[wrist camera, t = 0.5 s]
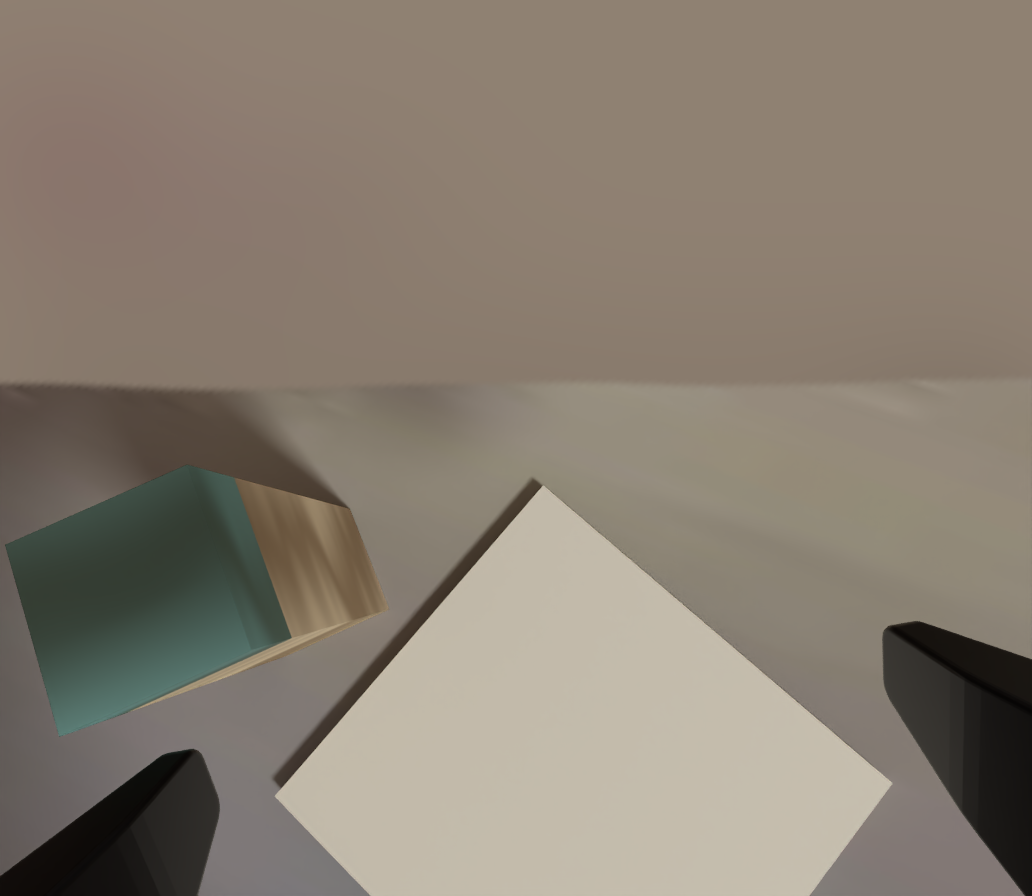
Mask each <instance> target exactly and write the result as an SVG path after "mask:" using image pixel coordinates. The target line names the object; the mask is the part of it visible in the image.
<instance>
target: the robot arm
mask: <svg viewBox="0 0 1032 896" xmlns="http://www.w3.org/2000/svg"><path fill="white" fill-rule="evenodd" d="M882 644H883V680H884V686H885V690H886V693H887V695H888V697H889V699H890V701H891V703H892V704H893V706H894V708H895V709H896V711H897V712H898V714H899V716H900V717H901V719H902V720H903V722H904V723H905V725H906V727H907V728H908V730H909V731H910V733H911V735H912V736H913V738H914V739H915V741H916V742H917V744H918V746H919V747H920V749H921V750H922V752H923V754H924V755H925V757H926V758H927V760H928V761H929V763H930V765H931V766H932V768H933V769H934V771H935V773H936V774H937V776H938V777H939V779H940V780H941V782H942V784H943V785H944V787H945V788H946V790H947V791H948V793H949V795H950V796H951V798H952V799H953V801H954V802H955V804H956V805H957V807H958V808H959V810H960V811H961V813H962V814H963V815H964V817H965V818H966V819H967V821H968V822H969V823H970V825H971V826H972V827H973V829H974V830H975V832H976V833H977V834H978V836H979V837H980V838H981V839H982V841H983V842H984V843H985V845H986V846H987V847H988V848H989V850H990V851H991V852H992V854H993V855H994V856H995V858H996V859H997V860H998V861H999V863H1000V864H1001V865H1002V867H1003V868H1004V869H1005V871H1006V872H1007V873H1008V874H1009V876H1010V877H1011V878H1012V880H1013V881H1014V882H1015V884H1016V885H1017V886H1018V887H1019V889H1020V890H1021V891H1022V893H1023V894H1024V895H1025V896H1032V659H1029V658H1026V657H1023V656H1020V655H1017V654H1014V653H1011V652H1008V651H1006V650H1003V649H1000V648H997V647H994V646H991V645H988V644H985V643H982V642H979V641H976V640H973V639H970V638H967V637H964V636H962V635H959V634H956V633H953V632H950V631H947V630H944V629H941V628H938V627H935V626H932V625H929V624H926V623H923V622H920V621H913V622H907V623H901V624H896V625H890V626H888V627H887V628H886V629H885V630H884V632H883V638H882ZM219 812H220V803H219V798H218V794H217V792H216V789H215V786H214V784H213V781H212V779H211V776H210V773H209V771H208V768H207V766H206V763H205V760H204V758H203V756H202V754H201V753H200V752H199V751H197V750H195V749H188V750H182V751H177V752H171V753H167V754H164V755H162V756H160V757H159V758H158V759H156V760H155V761H154V762H152V763H151V764H150V765H148V766H147V767H146V768H144V769H143V770H142V771H140V772H139V773H138V774H136V775H135V776H134V777H132V778H131V779H130V780H128V781H127V782H126V783H124V784H123V785H122V786H120V787H119V788H118V789H116V790H115V791H114V792H112V793H111V794H109V795H108V796H107V797H105V798H104V799H103V800H101V801H100V802H99V803H97V804H96V805H95V806H93V807H92V808H91V809H89V810H88V811H87V812H85V813H84V814H83V815H81V816H80V817H79V818H77V819H76V820H75V821H73V822H72V823H71V824H69V825H68V826H67V827H65V828H64V829H63V830H61V831H60V832H59V833H57V834H56V835H55V836H53V837H52V838H51V839H49V840H48V841H47V842H45V843H44V844H43V845H41V846H40V847H39V848H37V849H36V850H35V851H33V852H32V853H31V854H29V855H28V856H27V857H25V858H24V859H23V860H21V861H20V862H19V863H17V864H16V865H15V866H13V867H12V868H11V869H9V870H8V871H7V872H5V873H4V874H3V875H1V876H0V896H198V893H199V889H200V885H201V882H202V878H203V874H204V871H205V867H206V863H207V860H208V856H209V852H210V849H211V845H212V841H213V838H214V834H215V830H216V827H217V823H218V819H219Z"/></svg>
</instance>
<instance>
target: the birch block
mask: <svg viewBox="0 0 1032 896" xmlns="http://www.w3.org/2000/svg"><path fill="white" fill-rule="evenodd" d="M5 546H6V550H7V554H8V557H9V561H10V564H11V568H12V571H13V575H14V578H15V582H16V585H17V589H18V592H19V596H20V599H21V603H22V607H23V610H24V614H25V617H26V621H27V624H28V628H29V631H30V635H31V638H32V642H33V645H34V649H35V652H36V656H37V660H38V663H39V667H40V670H41V674H42V677H43V681H44V684H45V688H46V691H47V695H48V698H49V702H50V706H51V709H52V713H53V716H54V720H55V723H56V727H57V730H58V734H59V737H60V736H63V735H66V734H69V733H71V732H74V731H77V730H80V729H83V728H85V727H88V726H91V725H94V724H97V723H100V722H102V721H105V720H108V719H111V718H114V717H116V716H119V715H122V714H125V713H128V712H130V711H133V710H136V709H139V708H142V707H144V706H147V705H150V704H153V703H156V702H158V701H161V700H164V699H167V698H170V697H172V696H175V695H178V694H181V693H184V692H186V691H189V690H192V689H195V688H198V687H200V686H203V685H206V684H209V683H212V682H214V681H217V680H220V679H223V678H226V677H228V676H231V675H234V674H237V673H240V672H242V671H245V670H248V669H251V668H254V667H256V666H259V665H262V664H265V663H268V662H270V661H273V660H276V659H279V658H282V657H284V656H287V655H290V654H292V653H294V652H296V651H298V650H301V649H303V648H305V647H307V646H309V645H312V644H314V643H316V642H318V641H321V640H323V639H325V638H327V637H329V636H332V635H334V634H336V633H338V632H340V631H343V630H345V629H347V628H349V627H351V626H354V625H356V624H358V623H360V622H363V621H365V620H367V619H369V618H371V617H374V616H376V615H378V614H380V613H382V612H385V611H387V610H389V607H388V605H387V602H386V600H385V597H384V595H383V592H382V589H381V587H380V584H379V582H378V579H377V577H376V574H375V572H374V569H373V567H372V564H371V561H370V559H369V556H368V554H367V551H366V549H365V546H364V544H363V541H362V539H361V536H360V534H359V531H358V528H357V526H356V523H355V521H354V518H353V516H352V513H351V511H350V509H348V508H344V507H341V506H337V505H333V504H330V503H326V502H322V501H319V500H315V499H311V498H308V497H304V496H300V495H297V494H293V493H289V492H286V491H282V490H278V489H275V488H271V487H267V486H264V485H260V484H256V483H253V482H249V481H245V480H242V479H238V478H234V477H231V476H227V475H223V474H220V473H216V472H212V471H208V470H205V469H201V468H197V467H194V466H190V465H185V466H183V467H181V468H178V469H176V470H174V471H172V472H169V473H167V474H165V475H163V476H160V477H158V478H156V479H153V480H151V481H149V482H147V483H144V484H142V485H140V486H138V487H135V488H133V489H131V490H129V491H126V492H124V493H122V494H119V495H117V496H115V497H113V498H110V499H108V500H106V501H104V502H101V503H99V504H97V505H94V506H92V507H90V508H88V509H85V510H83V511H81V512H79V513H76V514H74V515H72V516H70V517H67V518H65V519H63V520H60V521H58V522H56V523H54V524H51V525H49V526H47V527H45V528H42V529H40V530H38V531H35V532H33V533H31V534H29V535H26V536H24V537H22V538H20V539H17V540H15V541H13V542H11V543H8V544H6V545H5Z"/></svg>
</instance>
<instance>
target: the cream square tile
mask: <svg viewBox="0 0 1032 896" xmlns="http://www.w3.org/2000/svg"><path fill="white" fill-rule="evenodd" d="M891 785H892V783H891V782H890V781H889V780H888V779H887V778H886V777H884V776H883V775H882V774H881V773H880V772H879V771H877V770H876V769H875V768H874V767H873V766H872V765H870V764H869V763H868V762H867V761H866V760H865V759H863V758H862V757H861V756H860V755H859V754H857V753H856V752H855V751H854V750H853V749H852V748H850V747H849V746H848V745H847V744H846V743H845V742H843V741H842V740H841V739H840V738H839V737H838V736H836V735H835V734H834V733H833V732H832V731H831V730H829V729H828V728H827V727H826V726H825V725H823V724H822V723H821V722H820V721H819V720H818V719H816V718H815V717H814V716H813V715H812V714H811V713H809V712H808V711H807V710H806V709H805V708H804V707H802V706H801V705H800V704H799V703H798V702H797V701H795V700H794V699H793V698H792V697H791V696H789V695H788V694H787V693H786V692H785V691H784V690H782V689H781V688H780V687H779V686H778V685H777V684H775V683H774V682H773V681H772V680H771V679H770V678H768V677H767V676H766V675H765V674H764V673H763V672H761V671H760V670H759V669H758V668H757V667H755V666H754V665H753V664H752V663H751V662H750V661H748V660H747V659H746V658H745V657H744V656H743V655H741V654H740V653H739V652H738V651H737V650H736V649H734V648H733V647H732V646H731V645H730V644H729V643H727V642H726V641H725V640H724V639H723V638H721V637H720V636H719V635H718V634H717V633H716V632H714V631H713V630H712V629H711V628H710V627H709V626H707V625H706V624H705V623H704V622H703V621H702V620H700V619H699V618H698V617H697V616H696V615H695V614H693V613H692V612H691V611H690V610H689V609H687V608H686V607H685V606H684V605H683V604H682V603H680V602H679V601H678V600H677V599H676V598H675V597H673V596H672V595H671V594H670V593H669V592H668V591H666V590H665V589H664V588H663V587H662V586H660V585H659V584H658V583H657V582H656V581H655V580H653V579H652V578H651V577H650V576H649V575H648V574H646V573H645V572H644V571H643V570H642V569H641V568H639V567H638V566H637V565H636V564H635V563H634V562H632V561H631V560H630V559H629V558H628V557H626V556H625V555H624V554H623V553H622V552H621V551H619V550H618V549H617V548H616V547H615V546H614V545H612V544H611V543H610V542H609V541H608V540H607V539H605V538H604V537H603V536H602V535H601V534H600V533H598V532H597V531H596V530H595V529H594V528H592V527H591V526H590V525H589V524H588V523H587V522H585V521H584V520H583V519H582V518H581V517H580V516H578V515H577V514H576V513H575V512H574V511H573V510H571V509H570V508H569V507H568V506H567V505H566V504H564V503H563V502H562V501H561V500H560V499H558V498H557V497H556V496H555V495H554V494H553V493H551V492H550V491H549V490H548V489H547V488H546V487H544V486H542V487H541V488H540V490H539V491H538V492H537V493H536V494H535V495H534V497H533V498H532V499H531V500H530V501H529V502H528V504H527V505H526V506H525V507H524V508H523V509H522V510H521V512H520V513H519V514H518V515H517V516H516V517H515V519H514V520H513V521H512V522H511V523H510V524H509V526H508V527H507V528H506V529H505V530H504V531H503V533H502V534H501V535H500V536H499V537H498V538H497V539H496V541H495V542H494V543H493V544H492V545H491V546H490V548H489V549H488V550H487V551H486V552H485V553H484V555H483V556H482V557H481V558H480V559H479V560H478V561H477V563H476V564H475V565H474V566H473V567H472V568H471V570H470V571H469V572H468V573H467V574H466V575H465V577H464V578H463V579H462V580H461V581H460V582H459V583H458V585H457V586H456V587H455V588H454V589H453V590H452V592H451V593H450V594H449V595H448V596H447V597H446V599H445V600H444V601H443V602H442V603H441V604H440V605H439V607H438V608H437V609H436V610H435V611H434V612H433V614H432V615H431V616H430V617H429V618H428V619H427V621H426V622H425V623H424V624H423V625H422V626H421V627H420V629H419V630H418V631H417V632H416V633H415V634H414V636H413V637H412V638H411V639H410V640H409V641H408V643H407V644H406V645H405V646H404V647H403V648H402V650H401V651H400V652H399V653H398V654H397V655H396V656H395V658H394V659H393V660H392V661H391V662H390V663H389V665H388V666H387V667H386V668H385V669H384V670H383V672H382V673H381V674H380V675H379V676H378V677H377V678H376V680H375V681H374V682H373V683H372V684H371V685H370V687H369V688H368V689H367V690H366V691H365V692H364V694H363V695H362V696H361V697H360V698H359V699H358V700H357V702H356V703H355V704H354V705H353V706H352V707H351V709H350V710H349V711H348V712H347V713H346V714H345V716H344V717H343V718H342V719H341V720H340V721H339V722H338V724H337V725H336V726H335V727H334V728H333V729H332V731H331V732H330V733H329V734H328V735H327V736H326V738H325V739H324V740H323V741H322V742H321V743H320V744H319V746H318V747H317V748H316V749H315V750H314V751H313V753H312V754H311V755H310V756H309V757H308V758H307V760H306V761H305V762H304V763H303V764H302V765H301V767H300V768H299V769H298V770H297V771H296V772H295V773H294V775H293V776H292V777H291V778H290V779H289V780H288V782H287V783H286V784H285V785H284V786H283V787H282V789H281V790H280V791H279V792H278V793H277V794H276V795H275V797H276V798H277V799H278V800H279V801H280V802H281V803H282V804H283V805H284V806H285V807H286V809H287V810H288V811H289V812H290V813H291V814H292V815H293V816H294V817H295V818H296V819H297V820H298V821H299V822H300V823H301V824H302V825H303V826H304V827H305V828H306V829H307V830H308V831H309V832H310V833H311V834H312V835H313V837H314V838H315V839H316V840H317V841H318V842H319V843H320V844H321V845H322V846H323V847H324V848H325V849H326V850H327V851H328V852H329V853H330V854H331V855H332V856H333V857H334V858H335V859H336V860H337V861H338V862H339V864H340V865H341V866H342V867H343V868H344V869H345V870H346V871H347V872H348V873H349V874H350V875H351V876H352V877H353V878H354V879H355V880H356V881H357V882H358V883H359V884H360V885H361V886H362V887H363V888H364V889H365V890H366V892H367V893H368V894H369V895H370V896H809V895H810V894H811V893H812V891H813V890H814V889H815V887H816V886H817V885H818V883H819V882H820V881H821V879H822V878H823V876H824V875H825V874H826V872H827V871H828V870H829V868H830V867H831V866H832V864H833V863H834V862H835V860H836V859H837V858H838V856H839V855H840V854H841V852H842V851H843V849H844V848H845V847H846V845H847V844H848V843H849V841H850V840H851V839H852V837H853V836H854V835H855V833H856V832H857V831H858V829H859V828H860V827H861V825H862V824H863V823H864V821H865V820H866V818H867V817H868V816H869V814H870V813H871V812H872V810H873V809H874V808H875V806H876V805H877V804H878V802H879V801H880V800H881V798H882V797H883V796H884V794H885V793H886V792H887V790H888V789H889V787H890V786H891Z"/></svg>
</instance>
